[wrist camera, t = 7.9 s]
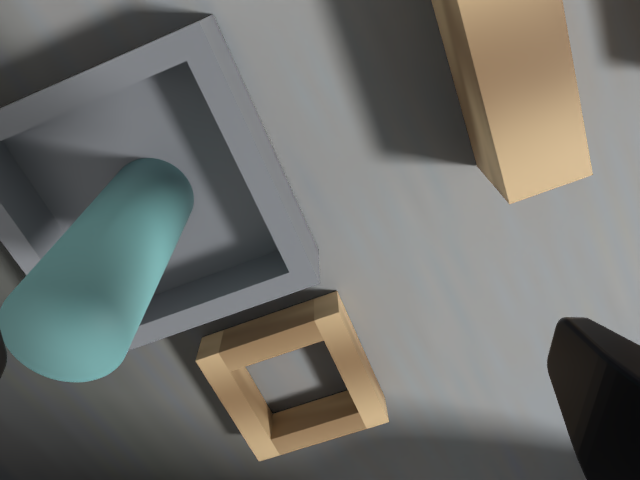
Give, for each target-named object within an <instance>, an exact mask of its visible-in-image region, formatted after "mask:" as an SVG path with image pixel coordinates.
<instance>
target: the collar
mask: <svg viewBox="0 0 640 480" xmlns="http://www.w3.org/2000/svg"><path fill="white" fill-rule="evenodd" d="M321 341H324V342H325V344H326V346H327V348H328V350H329V352H330V354H331V356H332V358H333V360H334V362H335V364H336V366H337V368H338V371H339V373H340V375H341V377H342V379H343V381H344V383H345V385H346V387H347V389H348V390H347V391H344V392H340V393H337V394H334V395H331V396H328V397H325V398H322V399H318V400H315V401H312V402H309V403H306V404H303V405H299V406H296V407H293V408H290V409H287V410H284V411H280V412H277V413H274V414H272V412H271V410H270V409H269V407H268V405H267V403H266V402H265V400H264V398H263V397H262V395H261V393H260V391H259V390H258V388H257V386H256V385H255V383H254V381H253V379H252V378H251V376H250V374H249V373H248V371H247V369H246V367H245V366H248V365H251V364H255V363H258V362H261V361H264V360H267V359H270V358H273V357H276V356H279V355H282V354H285V353H288V352H291V351H294V350H297V349H300V348H303V347H306V346H309V345H312V344H315V343H318V342H321ZM195 361H196V363H197V364H198V366H199V367H200V369H201V371H202V372H203V374H204V375H205V377H206V378H207V380H208V382H209V383H210V385H211V386H212V388H213V390H214V391H215V393H216V394H217V396H218V398H219V399H220V401H221V402H222V404H223V405H224V407H225V409H226V410H227V412H228V413H229V415H230V417H231V418H232V420H233V421H234V423H235V424H236V426H237V428H238V429H239V431H240V432H241V434H242V436H243V437H244V439H245V440H246V442H247V443H248V445H249V447H250V448H251V450H252V451H253V453H254V455H255V456H256V458H257V459H258V461H263V460H266V459H269V458H272V457H276V456H279V455H282V454H286V453H289V452H292V451H295V450H299V449H302V448H305V447H309V446H312V445H315V444H319V443H322V442H325V441H328V440H332V439H335V438H338V437H342V436H345V435H348V434H351V433H355V432H358V431H361V430H365V429H368V428H371V427H375V426H378V425H381V424H384V423H388V422H389V419H388V413H387V408H386V402H385V397H384V395H383V392H382V390H381V388H380V386H379V383H378V381H377V379H376V377H375V374H374V372H373V370H372V368H371V366H370V363H369V361H368V359H367V357H366V354H365V352H364V350H363V348H362V345H361V343H360V341H359V339H358V336H357V334H356V332H355V330H354V328H353V325H352V323H351V321H350V319H349V316H348V314H347V312H346V310H345V307H344V305H343V303H342V301H341V299H340V296H339V294H338V292H337V291H335V292H332V293H329V294H326V295H324V296H321V297H318V298H315V299H312V300H309V301H306V302H303V303H300V304H297V305H295V306H292V307H289V308H286V309H283V310H280V311H277V312H274V313H271V314H269V315H266V316H263V317H260V318H257V319H254V320H251V321H248V322H245V323H243V324H240V325H237V326H234V327H231V328H228V329H225V330H222V331H219V332H217V333H214V334H211V335H208V336H205V337H202V339H201V343H200V346H199V350H198V353H197V357H196V360H195Z"/></svg>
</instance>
